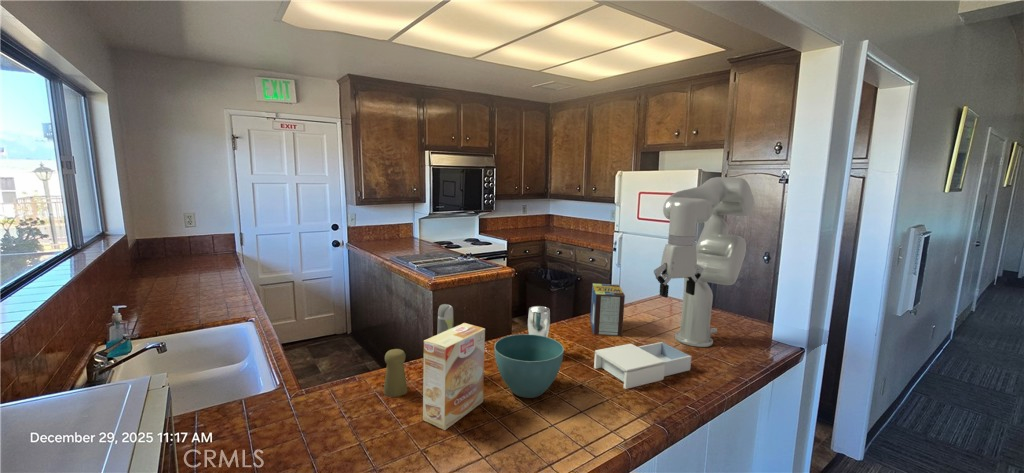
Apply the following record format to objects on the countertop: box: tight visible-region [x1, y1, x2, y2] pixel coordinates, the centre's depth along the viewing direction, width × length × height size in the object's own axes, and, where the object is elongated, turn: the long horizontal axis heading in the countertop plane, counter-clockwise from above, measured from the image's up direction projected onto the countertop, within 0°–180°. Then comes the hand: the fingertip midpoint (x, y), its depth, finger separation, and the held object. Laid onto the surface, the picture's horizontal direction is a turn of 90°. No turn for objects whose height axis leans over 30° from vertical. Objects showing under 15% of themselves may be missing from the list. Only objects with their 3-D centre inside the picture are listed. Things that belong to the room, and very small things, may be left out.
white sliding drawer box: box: [601, 341, 692, 383], centre depth 129 cm, size 24×12×4 cm, turn 116°
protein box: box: [589, 283, 626, 337], centre depth 162 cm, size 10×15×16 cm
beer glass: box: [527, 305, 551, 337], centre depth 136 cm, size 7×7×15 cm
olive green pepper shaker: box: [382, 348, 408, 398], centre depth 111 cm, size 6×6×11 cm
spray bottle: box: [436, 303, 455, 335], centre depth 121 cm, size 5×5×20 cm
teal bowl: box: [493, 333, 565, 399], centre depth 113 cm, size 18×18×12 cm
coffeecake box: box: [422, 322, 486, 431], centre depth 102 cm, size 15×7×20 cm, turn 148°
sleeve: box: [593, 343, 665, 390], centre depth 126 cm, size 14×14×6 cm
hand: (676, 295), depth 133 cm, fingers open, 9 cm apart
